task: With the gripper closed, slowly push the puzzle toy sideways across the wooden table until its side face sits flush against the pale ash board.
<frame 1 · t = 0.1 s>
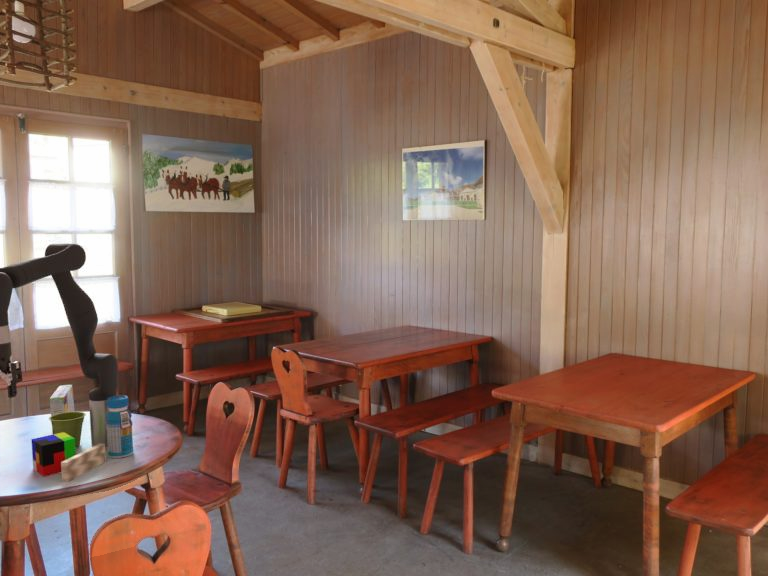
snack box: (64, 428, 258), on the table
blue canister: (120, 455, 225), on the table
plant pot: (69, 447, 235), on the table
ash board: (84, 470, 210), on the table
puzzle toy: (55, 469, 213), on the table
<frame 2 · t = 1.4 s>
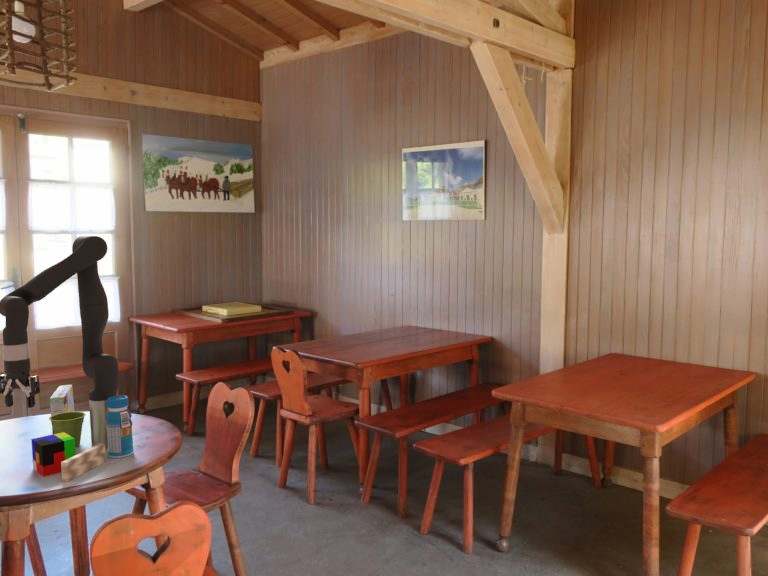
hand: (20, 406, 214), 20 cm above the table, fingers open, 7 cm apart
nothing on the table moved.
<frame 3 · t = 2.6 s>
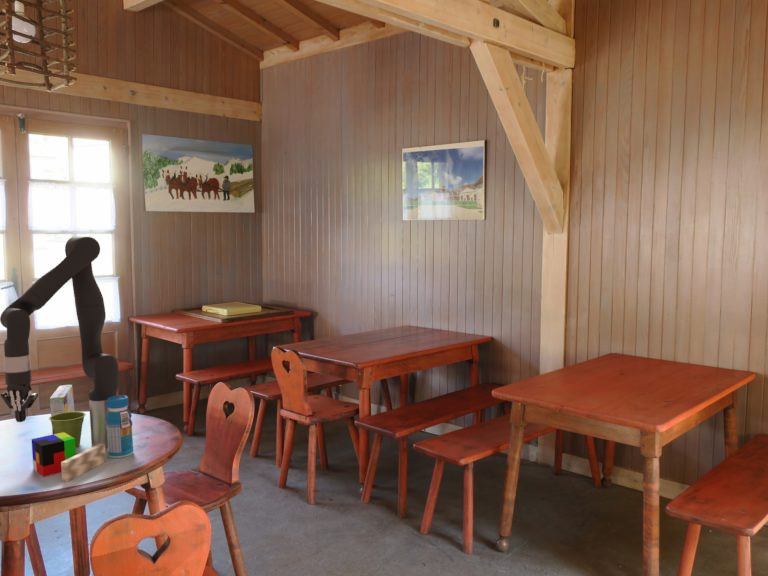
hand: (20, 421, 215), 15 cm above the table, fingers closed
nothing on the table moved.
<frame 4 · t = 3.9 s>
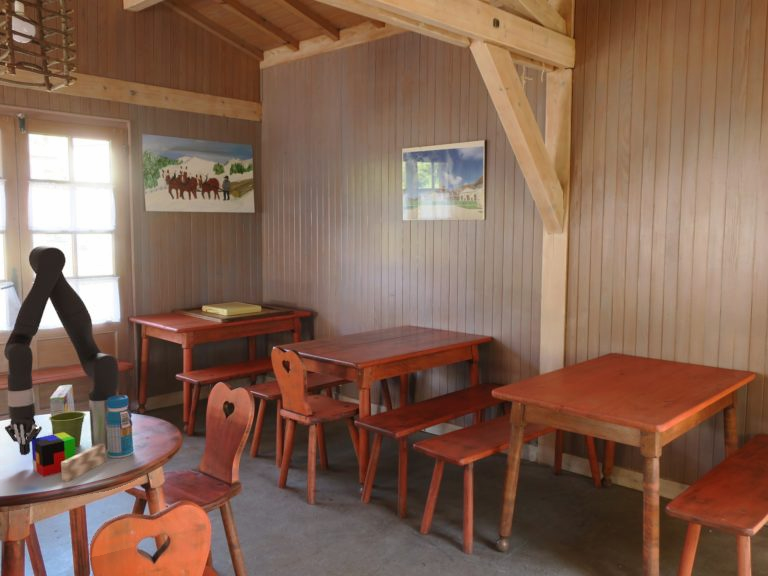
hand: (25, 454, 216), 4 cm above the table, fingers closed
nothing on the table moved.
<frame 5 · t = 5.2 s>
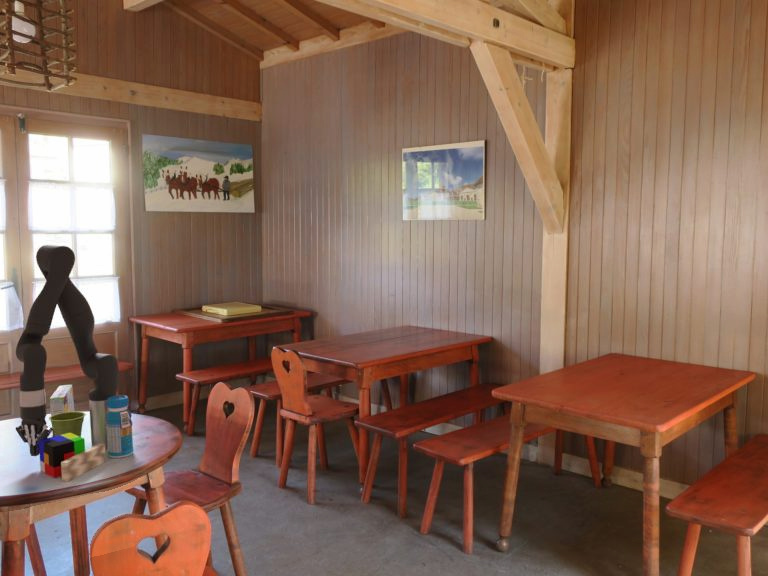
hand: (35, 455, 214), 4 cm above the table, fingers closed
puzzle toy: (63, 470, 212), on the table, touching ash board, hand
everything else where it was.
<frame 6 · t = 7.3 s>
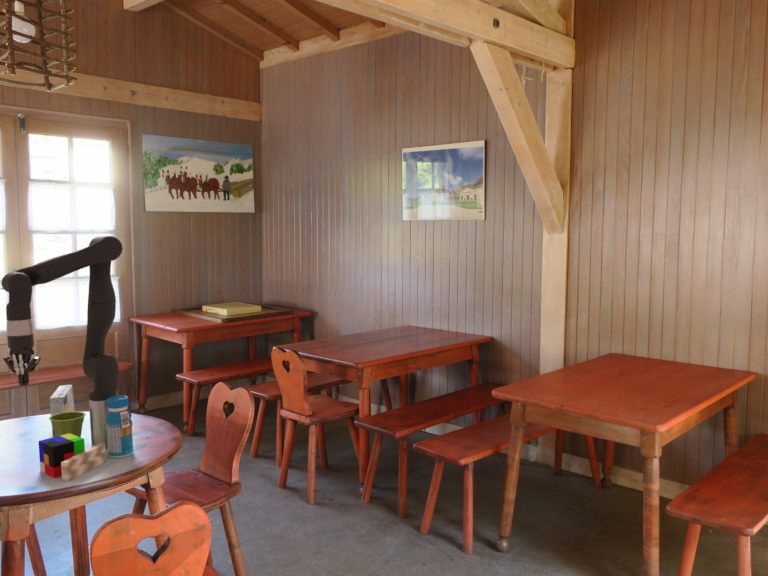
hand: (23, 385, 216), 27 cm above the table, fingers closed
puzzle toy: (63, 470, 212), on the table
everything else where it was.
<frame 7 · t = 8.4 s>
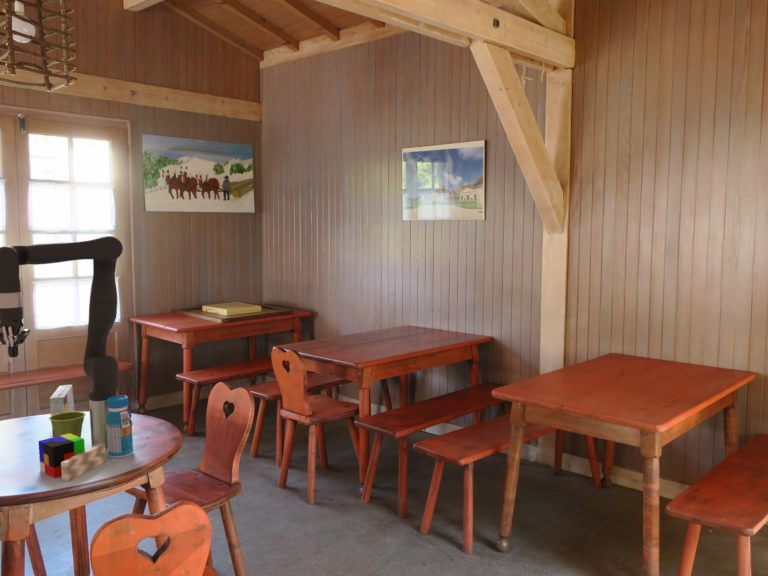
hand: (13, 357, 220), 35 cm above the table, fingers closed
nothing on the table moved.
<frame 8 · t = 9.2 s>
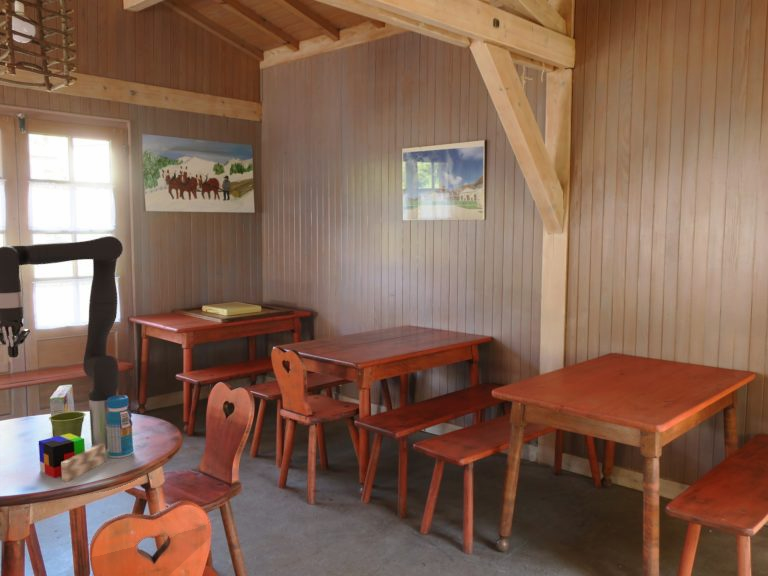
hand: (13, 357, 220), 35 cm above the table, fingers closed
nothing on the table moved.
at the end: puzzle toy 0.5 cm from the target spot on the table beside the ash board, on the table; puzzle toy tilted 0° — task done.
